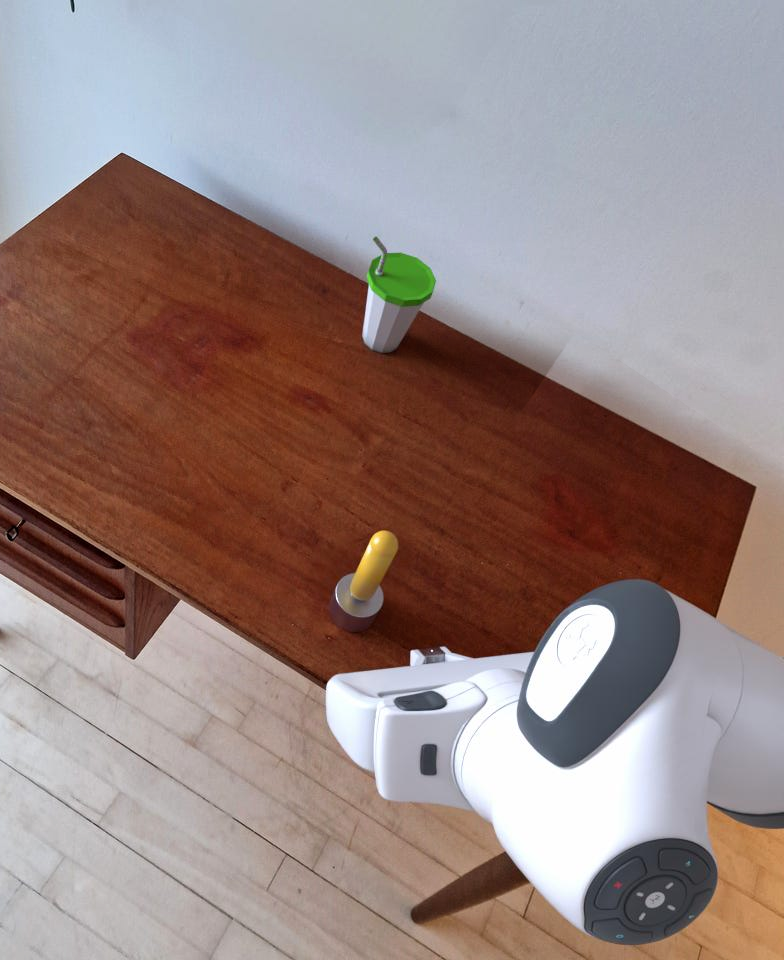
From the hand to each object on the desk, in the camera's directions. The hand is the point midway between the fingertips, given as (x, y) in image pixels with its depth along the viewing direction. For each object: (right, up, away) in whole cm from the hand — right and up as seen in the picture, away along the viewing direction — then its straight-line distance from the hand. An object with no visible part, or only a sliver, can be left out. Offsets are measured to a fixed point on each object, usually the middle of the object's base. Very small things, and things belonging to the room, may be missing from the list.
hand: (426, 656), depth 69 cm
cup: (-1, +32, +34) cm, 46 cm away
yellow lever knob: (-5, +2, +13) cm, 14 cm away
